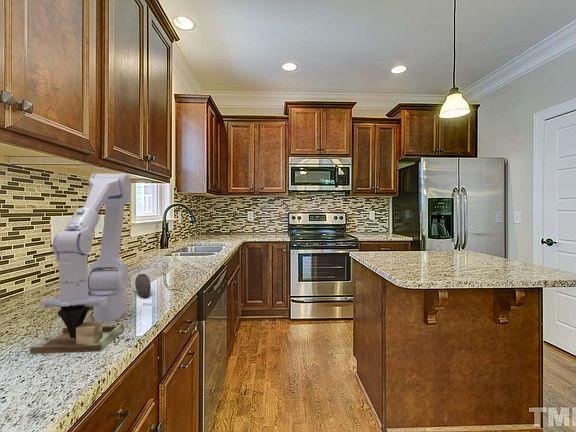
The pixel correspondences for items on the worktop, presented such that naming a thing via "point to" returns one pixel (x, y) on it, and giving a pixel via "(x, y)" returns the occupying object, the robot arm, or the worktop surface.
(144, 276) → the perforated stone tool
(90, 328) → the maple cube
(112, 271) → the robot arm
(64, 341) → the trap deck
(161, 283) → the worktop surface
